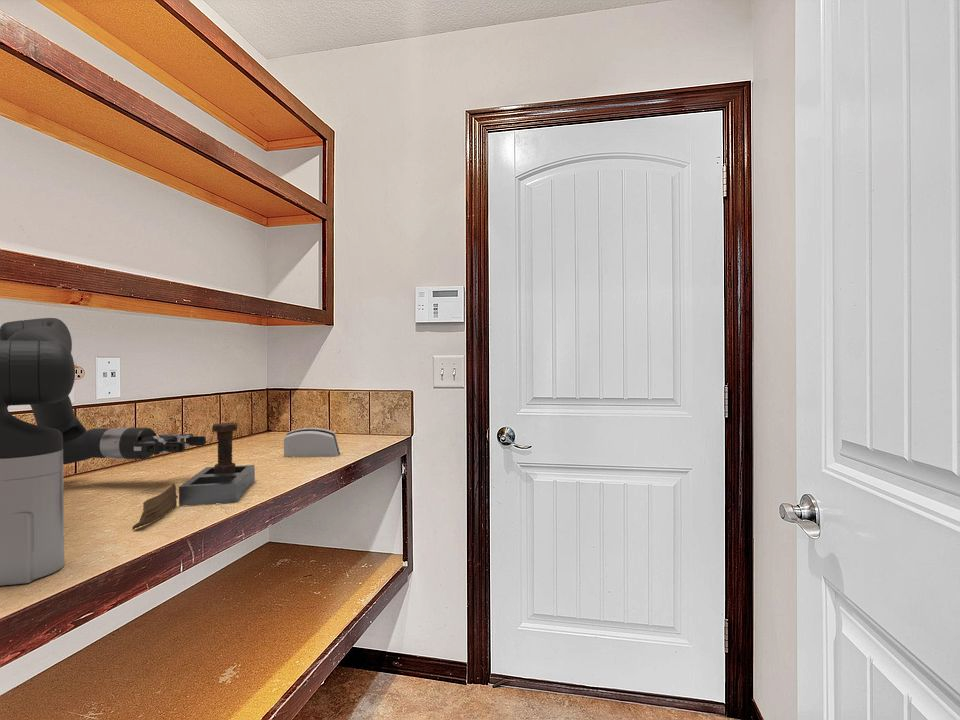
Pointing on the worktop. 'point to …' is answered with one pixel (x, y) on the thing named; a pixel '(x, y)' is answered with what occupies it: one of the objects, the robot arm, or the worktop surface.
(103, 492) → the worktop surface
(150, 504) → the wood plank
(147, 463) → the worktop surface
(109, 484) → the worktop surface
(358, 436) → the worktop surface
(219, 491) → the two-slot grey tray
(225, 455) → the bolt
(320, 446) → the grey napkin holder
